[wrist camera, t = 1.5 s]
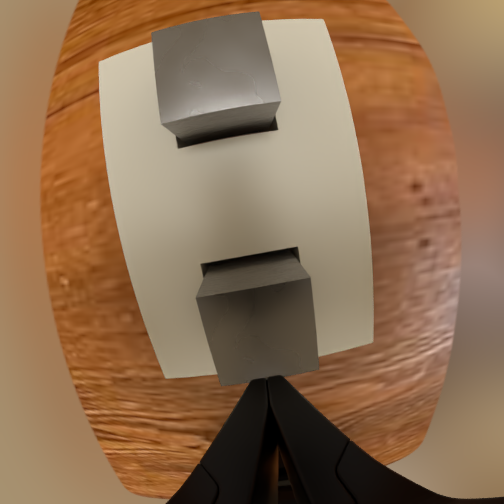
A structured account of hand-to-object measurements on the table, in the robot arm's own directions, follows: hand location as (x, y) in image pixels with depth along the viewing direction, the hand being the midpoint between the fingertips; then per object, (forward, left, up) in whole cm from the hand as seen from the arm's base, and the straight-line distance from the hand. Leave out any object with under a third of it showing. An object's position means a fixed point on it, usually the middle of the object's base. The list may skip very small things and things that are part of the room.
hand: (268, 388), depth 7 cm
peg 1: (+10, 0, -8) cm, 13 cm away
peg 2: (0, 0, -8) cm, 8 cm away
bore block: (+5, 0, -11) cm, 12 cm away
